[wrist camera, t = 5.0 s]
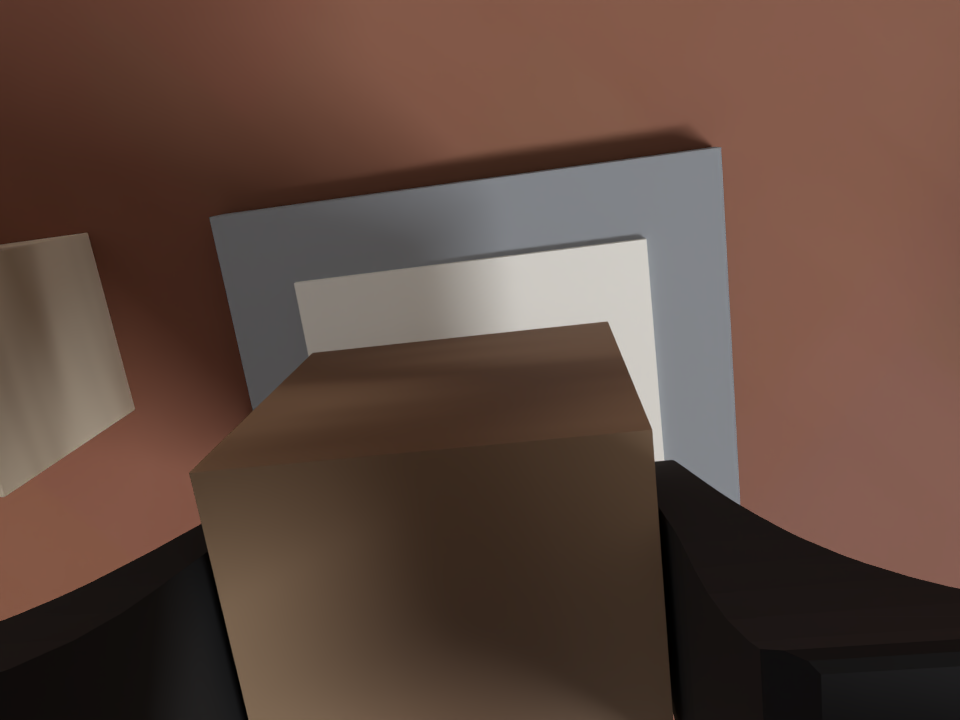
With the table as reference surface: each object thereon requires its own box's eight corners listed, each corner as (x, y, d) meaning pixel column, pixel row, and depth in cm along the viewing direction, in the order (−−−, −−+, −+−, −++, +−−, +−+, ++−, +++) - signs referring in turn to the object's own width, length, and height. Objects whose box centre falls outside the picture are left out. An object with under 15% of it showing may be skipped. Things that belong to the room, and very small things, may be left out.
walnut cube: (360, 609, 15) (277, 838, 10) (312, 352, 13) (188, 472, 9) (630, 589, 14) (680, 819, 9) (607, 321, 13) (651, 428, 8)
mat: (313, 631, 19) (304, 651, 18) (221, 214, 16) (206, 218, 16) (739, 600, 18) (747, 621, 17) (714, 146, 15) (722, 147, 14)
